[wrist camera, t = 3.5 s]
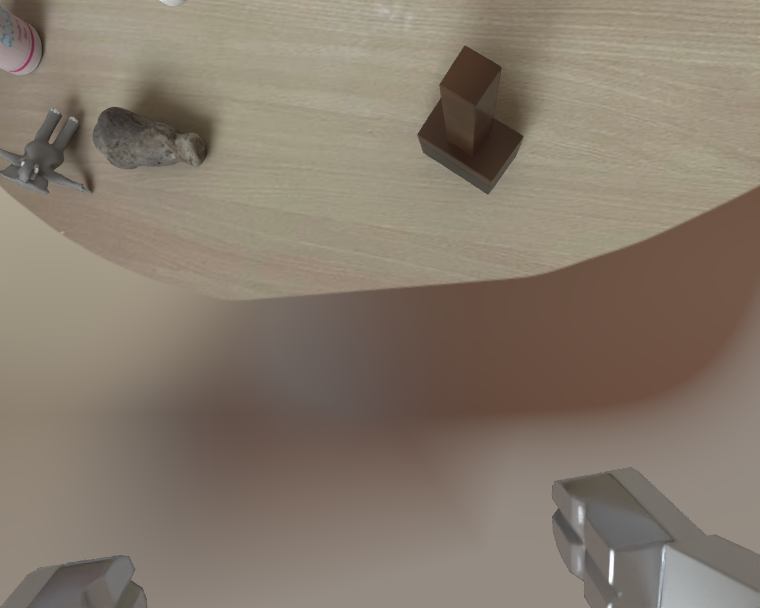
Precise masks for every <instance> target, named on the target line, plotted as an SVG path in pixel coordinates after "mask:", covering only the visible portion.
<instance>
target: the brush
mask: <svg viewBox="0 0 760 608" xmlns="http://www.w3.org/2000/svg"><path fill="white" fill-rule="evenodd" d="M500 73H501V66H499V65H497V64H496V63H494V62H492V61H491V60H489V59H487V58H486V57H484V56H482V55H480V54H479V53H477V52H475V51H474V50H472V49H470V48H469V47H467V46H464V47H463V49H462V50H461V52H460V53H459V55H458V57H457V58H456V60H455V61H454V63H453V64H452V66H451V67H450V69H449V71H448V72H447V74H446V75H445V77H444V78H443V80H442V81H441V83H440V92H441V99H440V100H439V102H438V103H437V105H436V107H435V108H434V110H433V111H432V113H431V114H430V116H429V117H428V119H427V120H426V122H425V123H424V125H423V127H422V128H421V130H420V131H419V133H418V138H419V141H420V144H421V147H422V150H423V153H425V154H426V155H428V156H429V157H431V158H432V159H434V160H436V161H437V162H439V163H440V164H442V165H443V166H445V167H446V168H448V169H449V170H451V171H453V172H454V173H456V174H457V175H459V176H460V177H462V178H463V179H465V180H466V181H468V182H470V183H471V184H473V185H474V186H476V187H477V188H479V189H480V190H482V191H483V192H485V193H487V194H489V193H490V192H491V190H492V189H493V187H494V186H495V185H496V183H497V182H498V180H499V179H500V178H501V176H502V175H503V173H504V172H505V170H506V169H507V168H508V166H509V165H510V163H511V162H512V161H513V159H514V158H515V156H516V155H517V152H518V150H519V147H520V145H521V142H522V140H523V136H522V135H521V134H519V133H518V132H516V131H514V130H513V129H511V128H509V127H508V126H506V125H504V124H503V123H501V122H500V121H498V120H496V119H495V118H493V116H494V110H495V104H496V98H497V91H498V85H499V79H500Z"/></svg>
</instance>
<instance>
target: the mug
mask: <svg viewBox="0 0 760 608" xmlns="http://www.w3.org/2000/svg"><path fill="white" fill-rule="evenodd" d="M160 1H161V2H163V3H165V4H167V5H169V6H178V5H181V4H183V3H185V2H186V1H187V0H160Z"/></svg>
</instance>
